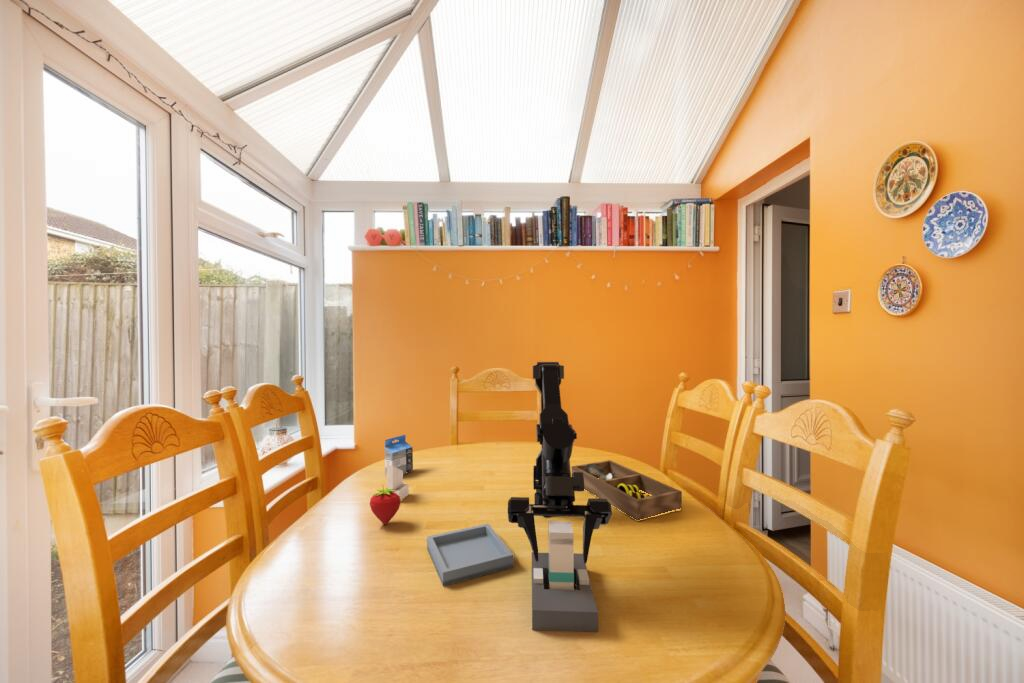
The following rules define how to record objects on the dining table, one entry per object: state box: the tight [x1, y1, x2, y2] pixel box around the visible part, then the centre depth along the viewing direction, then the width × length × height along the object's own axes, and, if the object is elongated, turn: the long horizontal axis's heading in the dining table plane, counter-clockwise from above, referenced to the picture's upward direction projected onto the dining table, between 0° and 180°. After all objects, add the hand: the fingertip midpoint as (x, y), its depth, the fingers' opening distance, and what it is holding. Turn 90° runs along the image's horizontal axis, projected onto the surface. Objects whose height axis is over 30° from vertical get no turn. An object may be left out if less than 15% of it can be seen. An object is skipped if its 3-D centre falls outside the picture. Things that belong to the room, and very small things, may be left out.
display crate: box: [571, 459, 683, 520], centre depth 109 cm, size 15×29×5 cm, turn 24°
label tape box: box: [384, 434, 414, 476], centre depth 127 cm, size 9×4×12 cm, turn 147°
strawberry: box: [369, 484, 402, 525], centre depth 92 cm, size 6×8×10 cm
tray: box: [426, 523, 515, 587], centre depth 78 cm, size 14×14×2 cm
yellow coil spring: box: [617, 483, 648, 499], centre depth 103 cm, size 10×5×5 cm, turn 5°
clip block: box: [531, 551, 599, 633], centre depth 66 cm, size 16×10×4 cm, turn 177°
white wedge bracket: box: [386, 465, 410, 501], centre depth 107 cm, size 4×10×9 cm, turn 168°
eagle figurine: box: [585, 463, 615, 481], centre depth 115 cm, size 8×7×9 cm
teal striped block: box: [547, 520, 575, 590], centre depth 66 cm, size 4×4×12 cm
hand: (561, 562), depth 64 cm, fingers open, 8 cm apart
